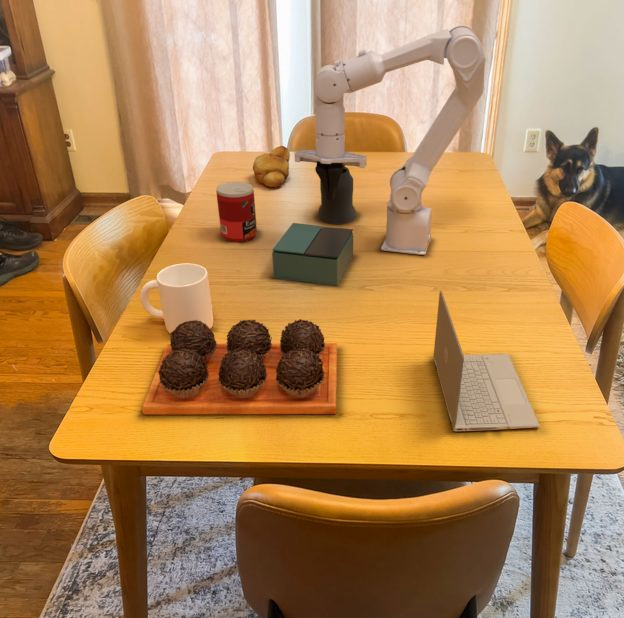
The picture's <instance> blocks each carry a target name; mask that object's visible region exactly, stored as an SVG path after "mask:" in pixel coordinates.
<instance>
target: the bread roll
mask: <svg viewBox="0 0 624 618" xmlns="http://www.w3.org/2000/svg"><path fill="white" fill-rule="evenodd" d="M290 157H291V154H290V150H289V149H288V147H286V146H284V145H279V146H276V147H274V148H273V149H272V150H270V151H269V153H263V154H259V155H258V156H257V157H255V159H254V161H253V163H252V171H253V173H254V174H253V175H254V177H255V179H256V181H257V182H258V183H260V184H264V185H265V186H266V187H270V188H277V187H279V186H283V184H284V182H285V180H286V179H288V178H289V174H290V170H289V169H290Z"/></svg>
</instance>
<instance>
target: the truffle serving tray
mask: <svg viewBox="0 0 624 618" xmlns="http://www.w3.org/2000/svg"><path fill="white" fill-rule="evenodd" d="M269 331H270V329H269V328H268V327H267V326H266V325H264V323H262V322H259V321H256V319H242V320H239V322H237V323H236V324H235V325H234V324H233V325H232V327H230V329H229V331H227V335H226V337H227V338H226V343H217V340H216V338H215V334H214V332H213V331H212V328H210V329H209V327H208V326H207V325H206V324H204V323H203V322H201V321H198V320H193V321H186V322H184V323H182V324H179V325H178V326H177V327H176V329H175V330H174V331H172V332H171V333H169V335H170V339H169V341H170V343H166V345H165V347H164V350H163V353H162V355H161V358H160V360H159V363H158V365H157V367H156V368H157V369H156V370H155V373H154V376H153V377H152V381H151V384H150V386H149V389H148V391H147V394H146V396H145V399H144V401H143V404H142V407H141V410H142V415H146V416H149V415H150V416H151V415H153V416H154V415H155V416H156V415H157V416H159V415H163V416H164V415H168V416H169V415H336V414H337V392H338V391H337V389H338V388H337V387H338V385H337V384H338V383H337V382H338V379H337V377H338V372H337V371H338V344H337V342H334V343H333V342H325V335H324V334H323V332H322V329H321V328H320V325H317V323H315V324H314V323H313V321H309V320H308V319H307V320H304V319H302V318H300V319H297V320H294V321H293V322H288V323H287V325H285V326H284V329H282V330H281V335H280V339H279V343H277V342H276V343H275V342H274V343H272V339H273V337H272V336H271V334H270V332H269Z"/></svg>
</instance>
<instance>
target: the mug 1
mask: <svg viewBox="0 0 624 618" xmlns="http://www.w3.org/2000/svg"><path fill="white" fill-rule="evenodd" d="M152 290H158V293H159V299H160V305H161V309H157V308H155V307H154V306H153V305H152V304H151V302H150V298H149V294H150V292H151V291H152ZM139 299H140V303H141V306H142V307H143V309H144V310H145V311H146V312H147V313H148V314H149V315H151V316H152V317H153V318H157V319H163V321H164V326H165V329H166V331H167V332H168V333H169V334H170V333H171V332H172V331H174V330H175V329H176V327H177V326H178V325H179V324H182V323H184V322H186V321H193V320H198V321H201V322H203V323H204V324H206V325H207V326H208V327H209V329H210V328H211V329H212V327H213V326H214V311H213V306H212V304H213V303H212V297H211V290H210V283H209V273H208V270H207V268H205V267H204V266H202V265H200V264H198V263H197V264H196V263H186V262H185V263H177V264H172V265H169V266H166V267H165V268H163V269H161V270H160V271H159V272H158V273H157V274H156V279H152V280H149V281H147V282H146V283H145V284H144V285H143V286H142V288H141V290H140V298H139Z"/></svg>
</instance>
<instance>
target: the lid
mask: <svg viewBox="0 0 624 618" xmlns="http://www.w3.org/2000/svg"><path fill="white" fill-rule="evenodd" d="M353 231H354V229H353V228H344V227H332V226H331V227H330V226H322V229H321V230H320V232H319V233H318V235H317V236H316V238H315V239H314V241H313V242H312V244H311V245H310V246H309V248H308V249H307V251H306V252H305V255H309V256H319V257H330V258H337V257H338V255H339V254H340V252H341V250H342V249H343V247H344V245H345V243H346V242H347V240H348V238H349V237H350V235H351V233H354V232H353Z"/></svg>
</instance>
